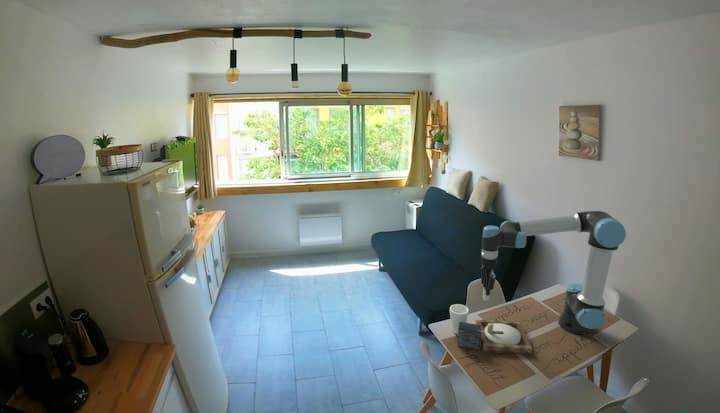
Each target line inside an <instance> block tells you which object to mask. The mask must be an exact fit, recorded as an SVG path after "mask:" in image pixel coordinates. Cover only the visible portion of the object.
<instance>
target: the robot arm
mask: <svg viewBox="0 0 720 413" xmlns="http://www.w3.org/2000/svg"><path fill="white" fill-rule="evenodd" d="M482 230H483V231H482V240H481V251H480V253H481V256H480V263H481V264H480V266H479V267H480V277H481V278H480V280H481V285H482V286H483V292H482V300H483V301H484V302H485V301H490V298H491V291H493V290H494V287H495V281H496V279H497V274H495V273H494V272H495V267H496V266H497V265H498V255H499V247H501V248H502V247H503V248H512V249H515V248H516V249H521V248H522V249H523V248H525V247H526V246H527V237H528V236H529V237H531V236H538V235H540V236H541V235H547V234H548V235H549V234H557V233H566V232H577V233H589V236H588V239H587V244H588V246H589V247H590V250H589V254H588V260H587V264H586V269H585V272H584V277H583V282H582V284H581V283H570V284H568V285H567V286H566V290H565V298H564V306H563V310H562V312H561V314H560V315H559V317H558V320H557V321H558V322H557V323H558V325H559V327H560V328H562V330H564V331H567V332H568V333H573V334H575V333H578V334H577V335H583V334H582V333H587V332H589V331H590V332H591V331H592V330H593V329H595V330H596V329H597V328H599V327H603V325H604V324H605V323H606V320H607V316H606V313H605V312H604V310H605V305H606V301H605V299H604V298H603V296H604V292H605V287H606V283H607V277H608V274H609V270H610V267H611V266H610V265H611V261H612V257H613V252H615V251H617V250H619V246H620V245H622V244H623V243H624V242H625V239H626V236H627V233H626V228H625V227H624V225H623V224H622V223H621V222H620V221H619V220H618V219H616V218H614V217H612V215H610V214H609V213H608V212H605V211H602V210H601V211H600V210H589V211H579V212H574V213H573V214H572V215H565V216H558V217H555V216H554V217H550V218H549V217H547V218H539V219H532V220H524V221H516V222H515V221H514V222H513V221H511V220H505V221H503V222H502V223H500V227H499V226H497V225H486V226H484V227H483V229H482ZM590 332H589V333H590ZM580 333H581V334H580ZM587 334H588V333H587Z"/></svg>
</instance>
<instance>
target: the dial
mask: <svg viewBox="0 0 720 413" xmlns="http://www.w3.org/2000/svg"><path fill="white" fill-rule="evenodd" d="M484 334H485V337H486V339H487V340H488V341H489V342H491V343H492V344H509V345H518V344H519V343H520V340H521V335H520V333H519V331H518V330H516V329H515V328H513V327H511V326H509V325H506V324H501V323H494V324H492V323H488V326H486V328H485V332H484Z"/></svg>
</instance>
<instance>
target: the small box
mask: <svg viewBox="0 0 720 413" xmlns="http://www.w3.org/2000/svg"><path fill="white" fill-rule="evenodd" d="M458 330H459V331H458V334H457V338H458V339H457V347H458V348H462V349H468V348H470V350H474V349H476V350H475V351H481V342H480V339H481V325H477V324H476V323H470V322H466V323H464V322H459V328H458Z"/></svg>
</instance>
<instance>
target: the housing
mask: <svg viewBox="0 0 720 413" xmlns="http://www.w3.org/2000/svg"><path fill="white" fill-rule="evenodd" d="M488 323H492V324H494V323H501V324H506V325H509V326H511V327H513V328H515V329H516V330H518V331H519V333H520V335H521V340H520V343H519V344H518V345H509V344H492V343H491V342H489V341H488V340H487V339H486V337H485V334H484V332H485V328H486V326H488ZM475 324H477V325H481V339H480V346H481V345H482V346H481V349H482V351H483V353H490V352H491V353H494V354H495V353H496V354H509V355H510V354H511V355H525V356H526V355H527V356H532V354H533V346H532V345H531V343H530V340H529V339H528V337H527V335H526V332H525V330H524V328H523V326H522V324H521V322H520V321H514V320H513V321H512V320H496V319H493V320H491V319H475Z"/></svg>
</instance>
